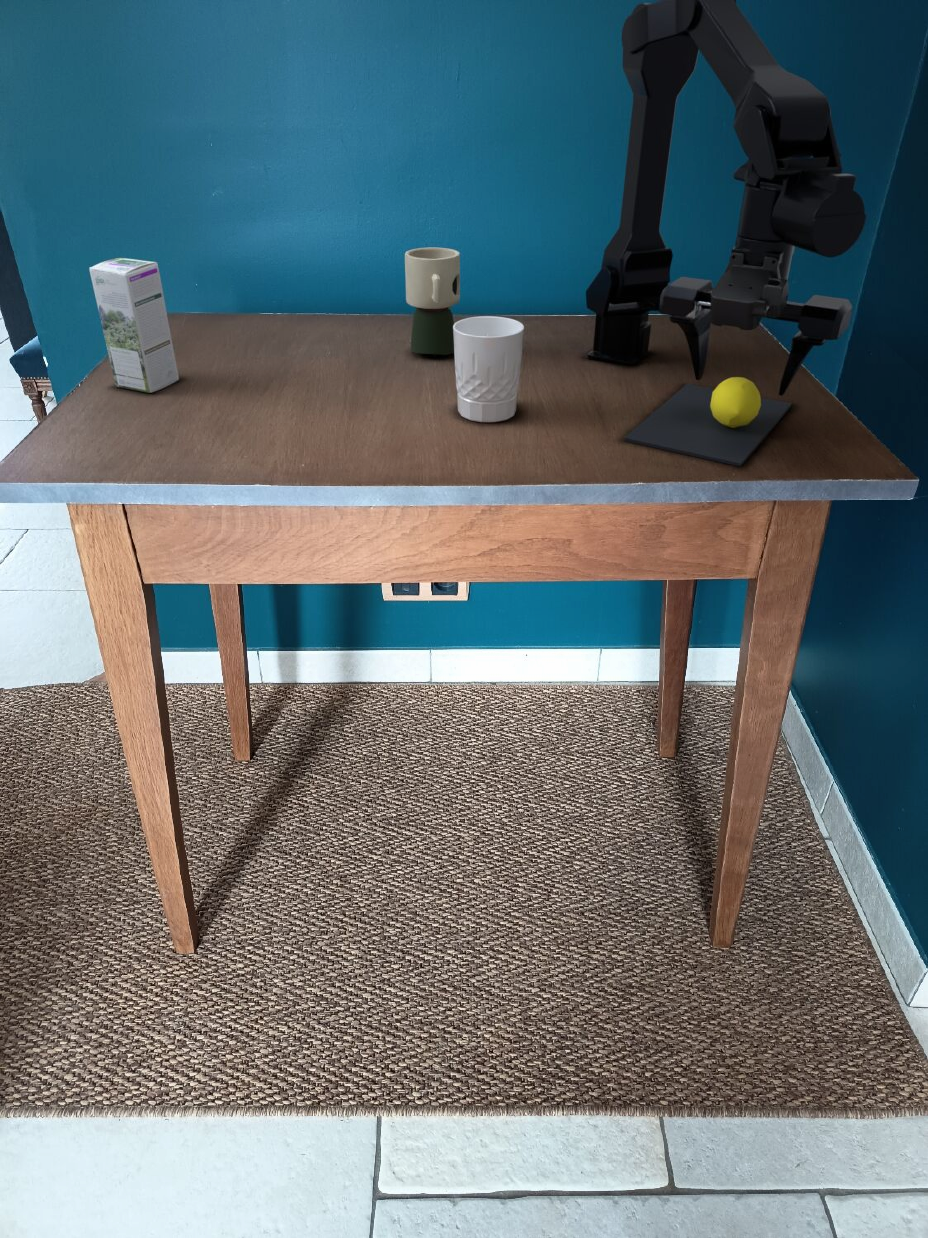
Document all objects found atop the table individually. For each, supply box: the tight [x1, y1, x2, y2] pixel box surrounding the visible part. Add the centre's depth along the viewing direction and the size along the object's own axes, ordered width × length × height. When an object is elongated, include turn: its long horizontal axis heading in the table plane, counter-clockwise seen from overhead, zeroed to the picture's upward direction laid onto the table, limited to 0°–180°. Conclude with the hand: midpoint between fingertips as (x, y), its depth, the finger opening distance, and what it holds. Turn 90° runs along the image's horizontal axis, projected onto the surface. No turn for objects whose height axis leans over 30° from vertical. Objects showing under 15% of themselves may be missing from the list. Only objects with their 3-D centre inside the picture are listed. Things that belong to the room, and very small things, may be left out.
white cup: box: [453, 315, 525, 423], centre depth 105 cm, size 8×8×10 cm
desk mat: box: [623, 383, 793, 467], centre depth 105 cm, size 13×20×1 cm, turn 149°
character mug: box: [404, 246, 461, 357], centre depth 122 cm, size 11×7×13 cm, turn 8°
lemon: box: [710, 376, 761, 428], centre depth 102 cm, size 7×5×5 cm
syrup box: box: [88, 257, 180, 394], centre depth 111 cm, size 6×6×14 cm
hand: (739, 386), depth 101 cm, fingers open, 9 cm apart
